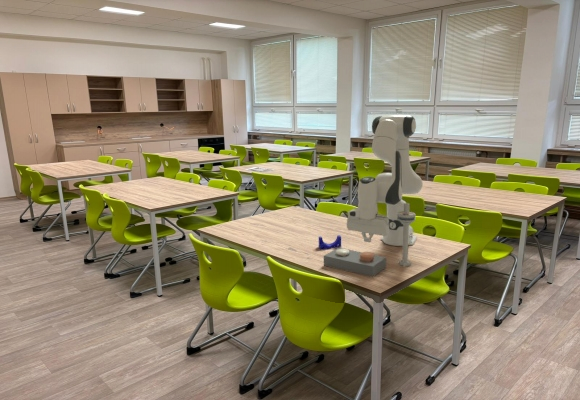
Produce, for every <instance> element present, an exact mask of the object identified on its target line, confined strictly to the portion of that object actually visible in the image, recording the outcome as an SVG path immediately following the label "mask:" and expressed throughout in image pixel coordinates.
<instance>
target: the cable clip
mask: <svg viewBox="0 0 580 400" xmlns="http://www.w3.org/2000/svg"><path fill="white" fill-rule="evenodd" d="M318 248H319V250H328V249H329V250H331V249H333V248H342V236H341V235H340V234H339V235H338V234H337V235H336V238H335V240H334V241H333V242H331V243H327V242H325V241H324V240H323V237H322V236H318Z"/></svg>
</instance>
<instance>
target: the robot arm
mask: <svg viewBox="0 0 580 400" xmlns="http://www.w3.org/2000/svg"><path fill="white" fill-rule="evenodd" d="M371 123H372V124H371V131H372V133H373V139H372V143H371V150H372V153H373V154H374V156H376V157H377V158H378V159H380V160H381V161H383V162H386V163H387V164H389V165H390V166H391V172H382V173H378V174H377V175H376V176H375V177H372V176H364V177H362V178H360V179H359V181H358V185H357V200H358V204H357V208H353V209H351V210H349V211H347V215H348V216H347V219H346V229H347V230H348V231H353V232H357V233H361V236H362V238H363V241H364V242H366V243H371V242H372V238H373V236H374V235H377V236H382V237H380V240H381V241H382V242H383V243H384V244H386V245H389V246H396V247H397V246H398V247H403V224H402V223H401V222H400V221H398V220H397V218H398V216H397V213H398V212H402V211H404V203H407V202H406V201H405V200H403V195H414V194H415V195H416V194H419V193H420V192H421V191H422V189H423V180H422V178H421V176H420V175H418V174H417V173H416V172H415V170H413V167H412V165H411V162H410V142H409V141H410V140H409V138H410V137H411V136H413V135H414V133H415V132H416V127H417V123H416V119H415V118H414V116H412V115H410V114H406V115H402V114H393V115H385V116H384V115H383V116H382V115H380V116H376V117H375V118H374V119H373V120H372V122H371ZM379 203H381V204H386V215H385V214H378V204H379ZM366 234H368V236H369V237H368V236H367V235H366ZM417 239H418V235H415V234H414V229H413V227H412V226H411V225H410V224H409V234H408V246H413V245H414V244H415V242H416V240H417Z"/></svg>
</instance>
